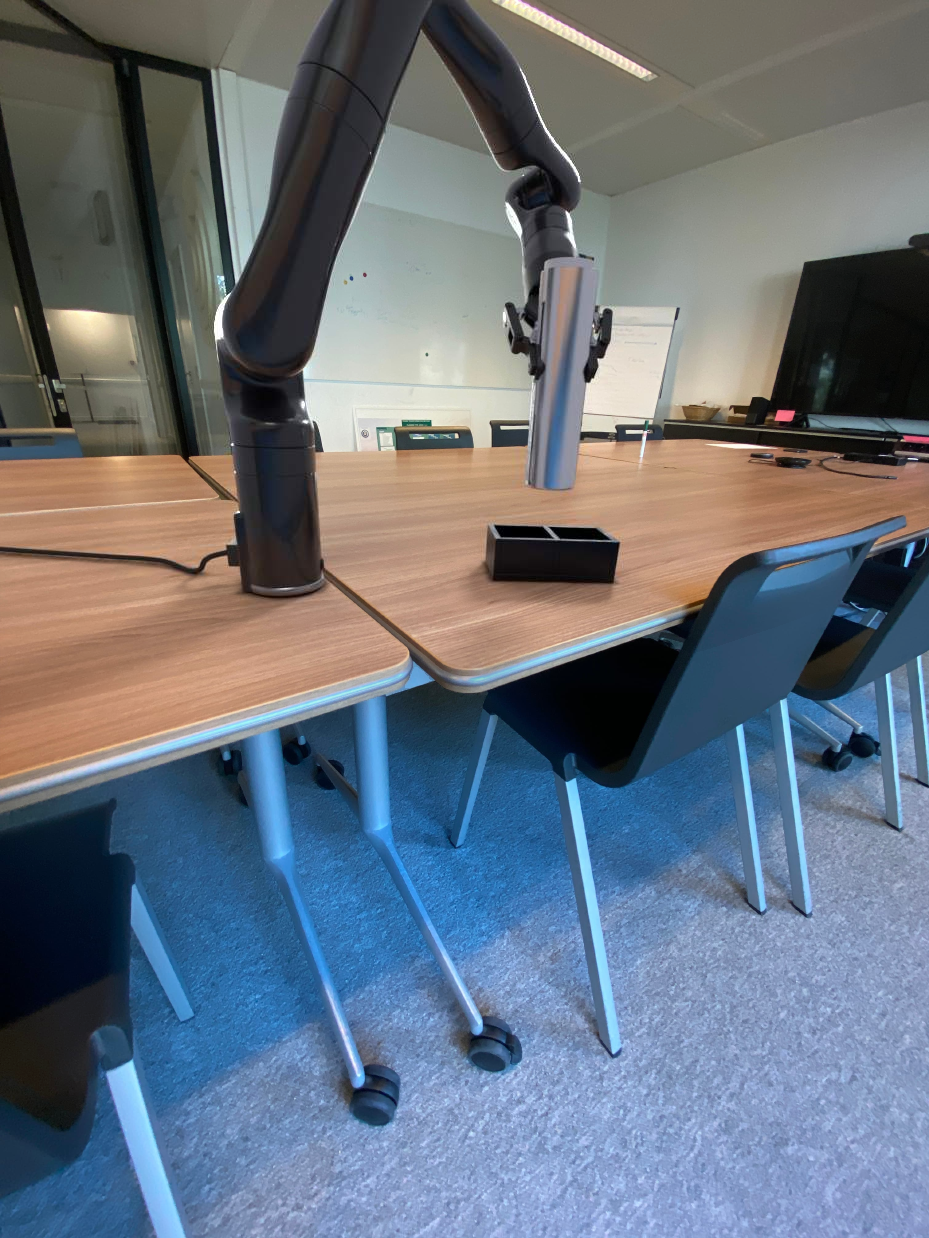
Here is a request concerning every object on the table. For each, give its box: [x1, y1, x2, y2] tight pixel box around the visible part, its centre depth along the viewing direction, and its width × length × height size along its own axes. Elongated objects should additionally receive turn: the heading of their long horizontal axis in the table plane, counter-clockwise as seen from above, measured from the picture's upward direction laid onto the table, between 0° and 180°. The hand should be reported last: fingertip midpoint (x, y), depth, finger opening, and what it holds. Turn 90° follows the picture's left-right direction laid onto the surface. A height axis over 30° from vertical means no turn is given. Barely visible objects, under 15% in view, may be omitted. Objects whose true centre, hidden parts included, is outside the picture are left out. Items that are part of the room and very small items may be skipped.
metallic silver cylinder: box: [524, 257, 600, 492], centre depth 65 cm, size 6×6×25 cm
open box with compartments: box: [484, 523, 621, 584], centre depth 78 cm, size 17×9×6 cm, turn 95°
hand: (564, 375), depth 63 cm, fingers closed on metallic silver cylinder, 5 cm apart
